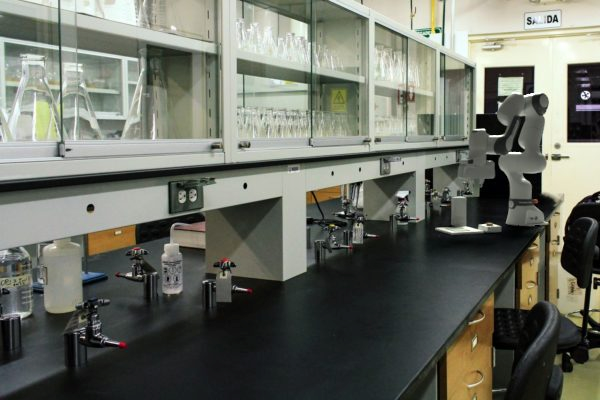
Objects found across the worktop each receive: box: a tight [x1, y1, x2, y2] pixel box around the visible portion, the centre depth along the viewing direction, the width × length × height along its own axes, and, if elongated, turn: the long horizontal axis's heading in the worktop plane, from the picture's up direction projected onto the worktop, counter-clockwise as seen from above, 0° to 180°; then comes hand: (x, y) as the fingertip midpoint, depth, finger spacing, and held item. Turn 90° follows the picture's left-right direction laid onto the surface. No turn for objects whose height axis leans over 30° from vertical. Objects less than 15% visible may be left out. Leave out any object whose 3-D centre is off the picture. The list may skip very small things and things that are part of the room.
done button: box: [485, 222, 494, 226], centre depth 311 cm, size 3×3×2 cm
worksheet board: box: [434, 225, 485, 236], centre depth 311 cm, size 18×16×1 cm
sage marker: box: [472, 178, 480, 198], centre depth 318 cm, size 3×3×11 cm
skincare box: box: [450, 195, 467, 227], centre depth 329 cm, size 8×7×16 cm
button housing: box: [477, 223, 502, 234], centre depth 312 cm, size 8×8×3 cm
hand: (475, 187), depth 318 cm, fingers closed on sage marker, 3 cm apart
